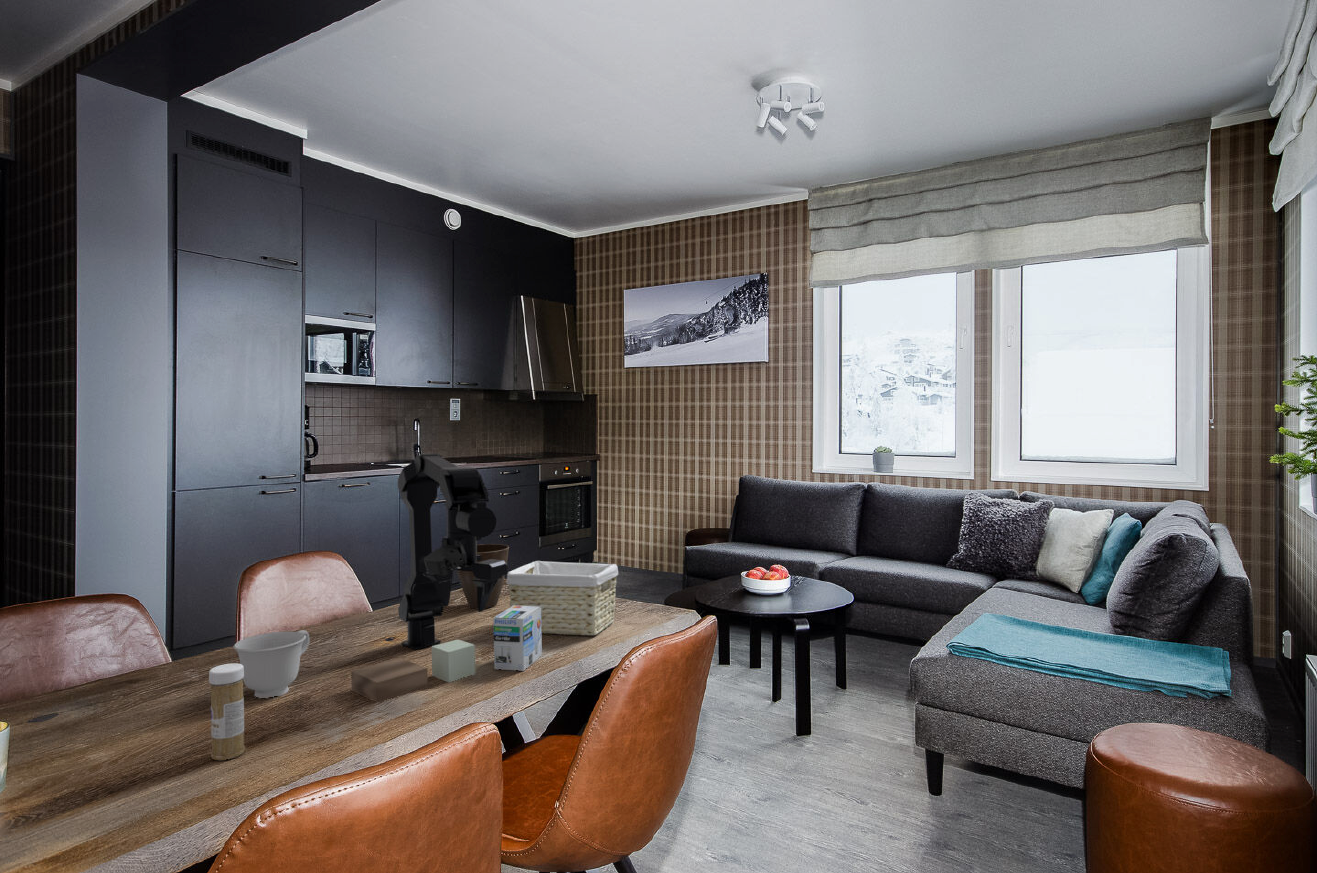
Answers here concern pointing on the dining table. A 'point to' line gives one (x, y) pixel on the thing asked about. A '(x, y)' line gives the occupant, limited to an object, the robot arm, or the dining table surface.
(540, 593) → the storage basket
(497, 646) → the light bulb box
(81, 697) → the dining table surface
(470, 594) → the plant pot
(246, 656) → the teacup
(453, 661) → the sage cube
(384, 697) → the walnut block
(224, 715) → the sprinkles bottle
